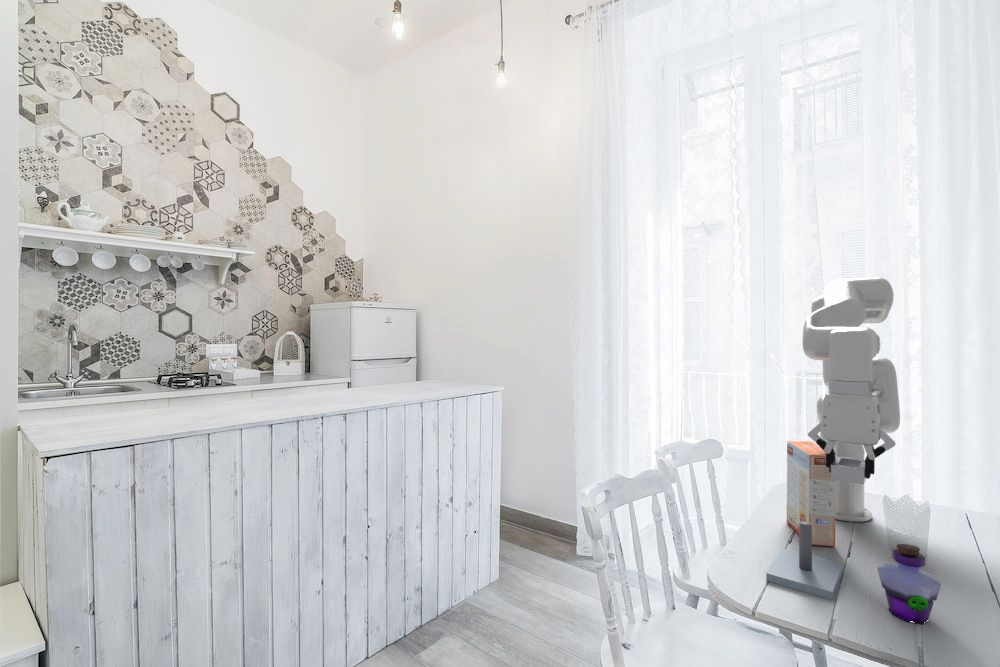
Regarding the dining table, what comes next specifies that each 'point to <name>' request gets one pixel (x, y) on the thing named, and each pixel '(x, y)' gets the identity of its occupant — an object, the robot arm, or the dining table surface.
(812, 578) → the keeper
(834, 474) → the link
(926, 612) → the potion bottle
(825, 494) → the cracker box
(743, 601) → the dining table surface
